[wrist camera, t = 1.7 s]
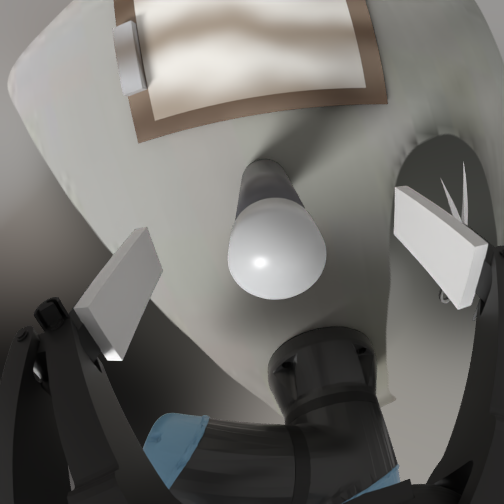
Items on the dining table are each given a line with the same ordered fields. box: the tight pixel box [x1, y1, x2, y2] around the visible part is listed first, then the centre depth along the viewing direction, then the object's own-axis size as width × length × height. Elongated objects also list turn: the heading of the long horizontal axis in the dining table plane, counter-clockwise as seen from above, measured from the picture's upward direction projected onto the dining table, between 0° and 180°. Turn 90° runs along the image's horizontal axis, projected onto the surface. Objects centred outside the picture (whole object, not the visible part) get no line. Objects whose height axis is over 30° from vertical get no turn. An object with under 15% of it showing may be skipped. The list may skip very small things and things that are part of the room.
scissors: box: [439, 168, 468, 304], centre depth 27 cm, size 11×1×20 cm
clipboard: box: [112, 0, 388, 143], centre depth 16 cm, size 16×22×2 cm
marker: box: [228, 159, 326, 299], centre depth 18 cm, size 4×4×14 cm
